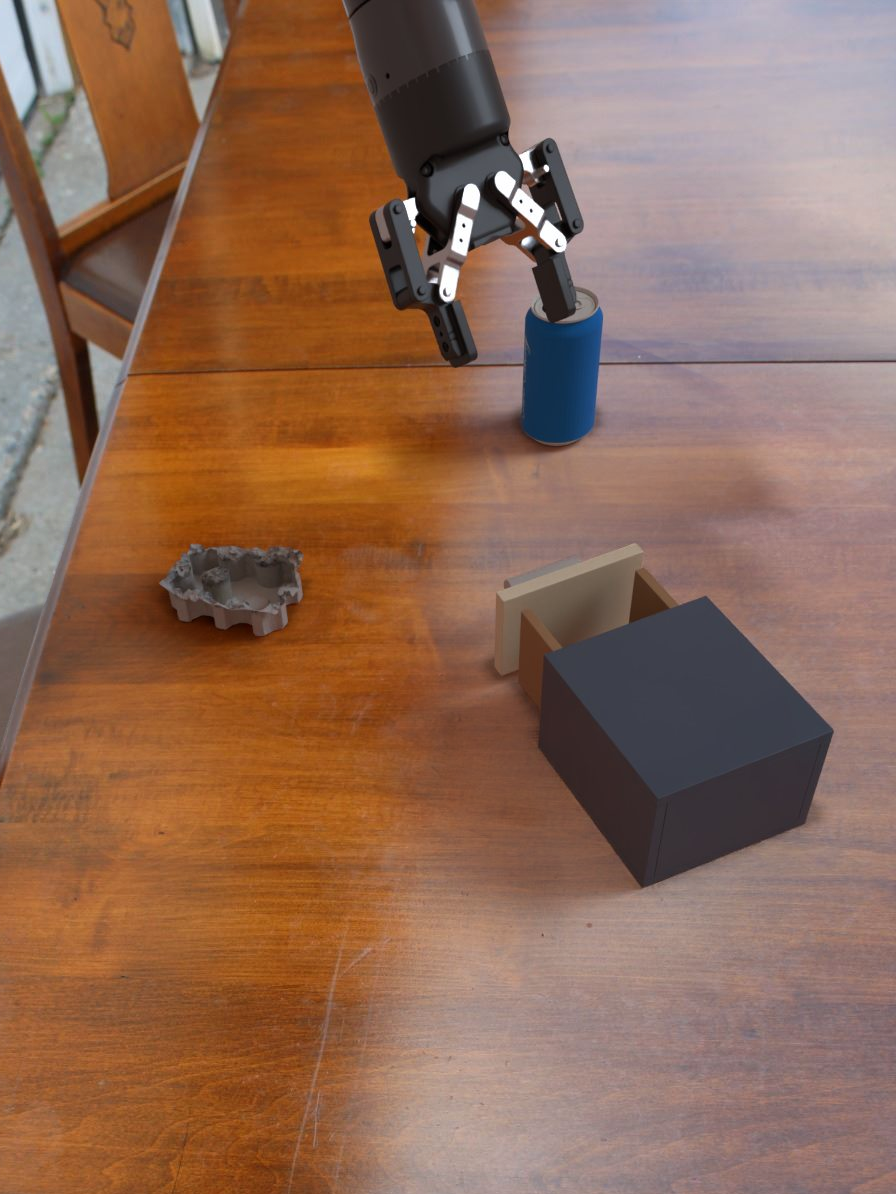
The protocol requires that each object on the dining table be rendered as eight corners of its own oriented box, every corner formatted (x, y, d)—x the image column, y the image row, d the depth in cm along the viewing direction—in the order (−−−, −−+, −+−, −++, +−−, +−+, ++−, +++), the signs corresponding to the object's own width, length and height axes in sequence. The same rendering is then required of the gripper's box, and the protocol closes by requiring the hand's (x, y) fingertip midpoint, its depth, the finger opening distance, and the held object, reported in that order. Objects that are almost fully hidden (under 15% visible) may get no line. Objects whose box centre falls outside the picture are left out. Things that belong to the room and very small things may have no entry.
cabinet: (537, 747, 97) (543, 654, 90) (688, 690, 99) (706, 594, 92) (642, 888, 89) (657, 799, 81) (805, 823, 90) (834, 730, 83)
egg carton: (313, 588, 111) (309, 548, 107) (275, 647, 107) (269, 607, 103) (201, 562, 114) (193, 523, 111) (159, 618, 110) (150, 579, 107)
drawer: (471, 636, 104) (471, 561, 98) (600, 589, 105) (608, 513, 100) (581, 784, 93) (589, 710, 88) (723, 730, 95) (739, 654, 89)
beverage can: (515, 414, 122) (519, 288, 113) (585, 404, 122) (595, 278, 112) (527, 455, 118) (533, 328, 109) (600, 445, 118) (611, 318, 109)
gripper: (369, 83, 75) (465, 368, 81) (553, 16, 80) (633, 289, 86) (307, 131, 82) (400, 391, 87) (481, 67, 87) (559, 317, 92)
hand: (515, 340), depth 86 cm, fingers open, 8 cm apart
